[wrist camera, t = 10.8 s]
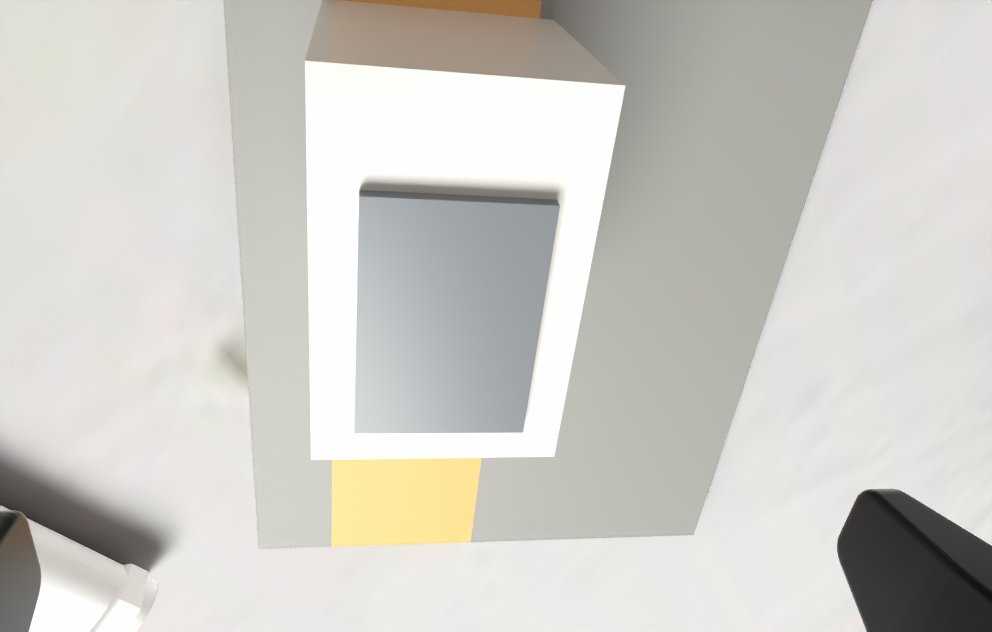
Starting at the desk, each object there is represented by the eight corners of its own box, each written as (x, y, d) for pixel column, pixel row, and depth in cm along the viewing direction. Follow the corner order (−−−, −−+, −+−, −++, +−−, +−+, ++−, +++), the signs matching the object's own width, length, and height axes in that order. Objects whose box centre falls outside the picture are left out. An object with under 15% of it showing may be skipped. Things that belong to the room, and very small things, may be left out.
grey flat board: (931, -254, 15) (959, -259, 14) (684, 516, 25) (693, 534, 24) (207, -381, 12) (198, -393, 12) (261, 527, 22) (258, 549, 22)
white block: (554, 19, 15) (630, 89, 11) (511, 320, 19) (556, 465, 14) (322, -2, 15) (303, 65, 10) (323, 316, 18) (310, 469, 14)
